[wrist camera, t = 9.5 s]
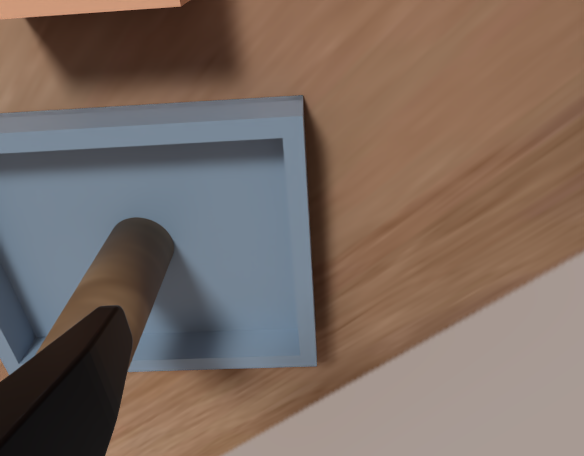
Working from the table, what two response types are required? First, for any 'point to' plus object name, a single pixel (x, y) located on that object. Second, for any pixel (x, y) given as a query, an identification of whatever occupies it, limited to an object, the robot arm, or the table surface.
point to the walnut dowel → (121, 277)
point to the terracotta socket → (76, 6)
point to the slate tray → (165, 226)
